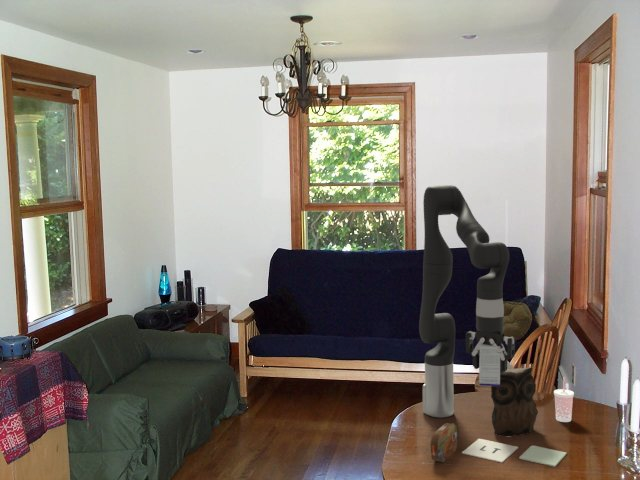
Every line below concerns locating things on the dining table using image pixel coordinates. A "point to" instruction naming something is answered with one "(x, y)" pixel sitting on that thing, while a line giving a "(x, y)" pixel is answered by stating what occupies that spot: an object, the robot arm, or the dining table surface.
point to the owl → (514, 403)
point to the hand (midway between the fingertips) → (489, 370)
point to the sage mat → (543, 455)
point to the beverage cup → (563, 403)
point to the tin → (444, 442)
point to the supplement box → (489, 366)
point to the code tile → (490, 450)
